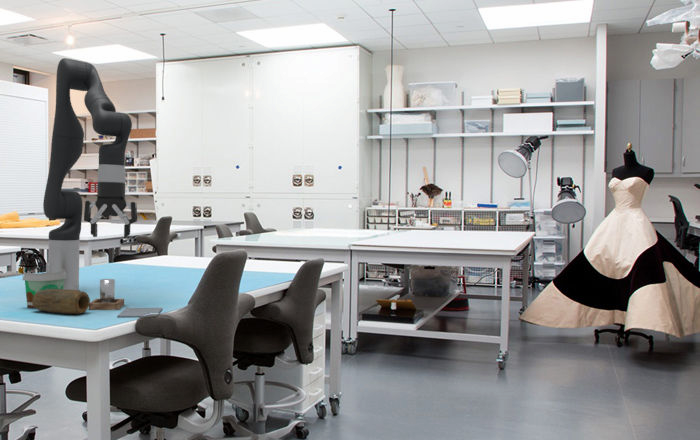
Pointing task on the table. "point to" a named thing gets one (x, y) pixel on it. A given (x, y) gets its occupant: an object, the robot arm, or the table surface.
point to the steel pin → (107, 290)
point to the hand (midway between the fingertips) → (110, 237)
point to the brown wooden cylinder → (61, 301)
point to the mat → (138, 312)
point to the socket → (106, 305)
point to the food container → (42, 283)
